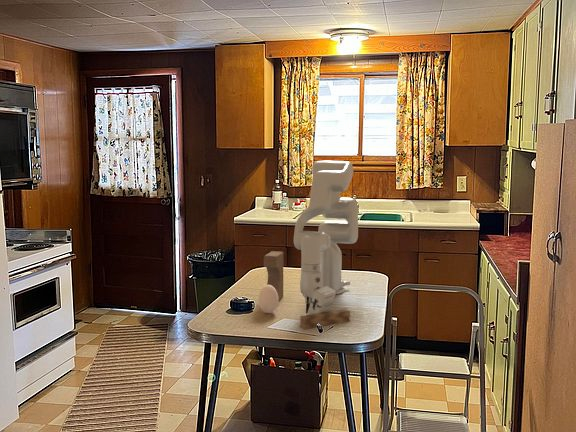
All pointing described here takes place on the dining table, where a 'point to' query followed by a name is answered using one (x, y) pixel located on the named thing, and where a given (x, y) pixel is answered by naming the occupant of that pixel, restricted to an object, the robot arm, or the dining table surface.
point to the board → (324, 318)
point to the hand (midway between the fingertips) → (310, 313)
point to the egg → (268, 299)
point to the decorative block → (275, 270)
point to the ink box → (321, 300)
